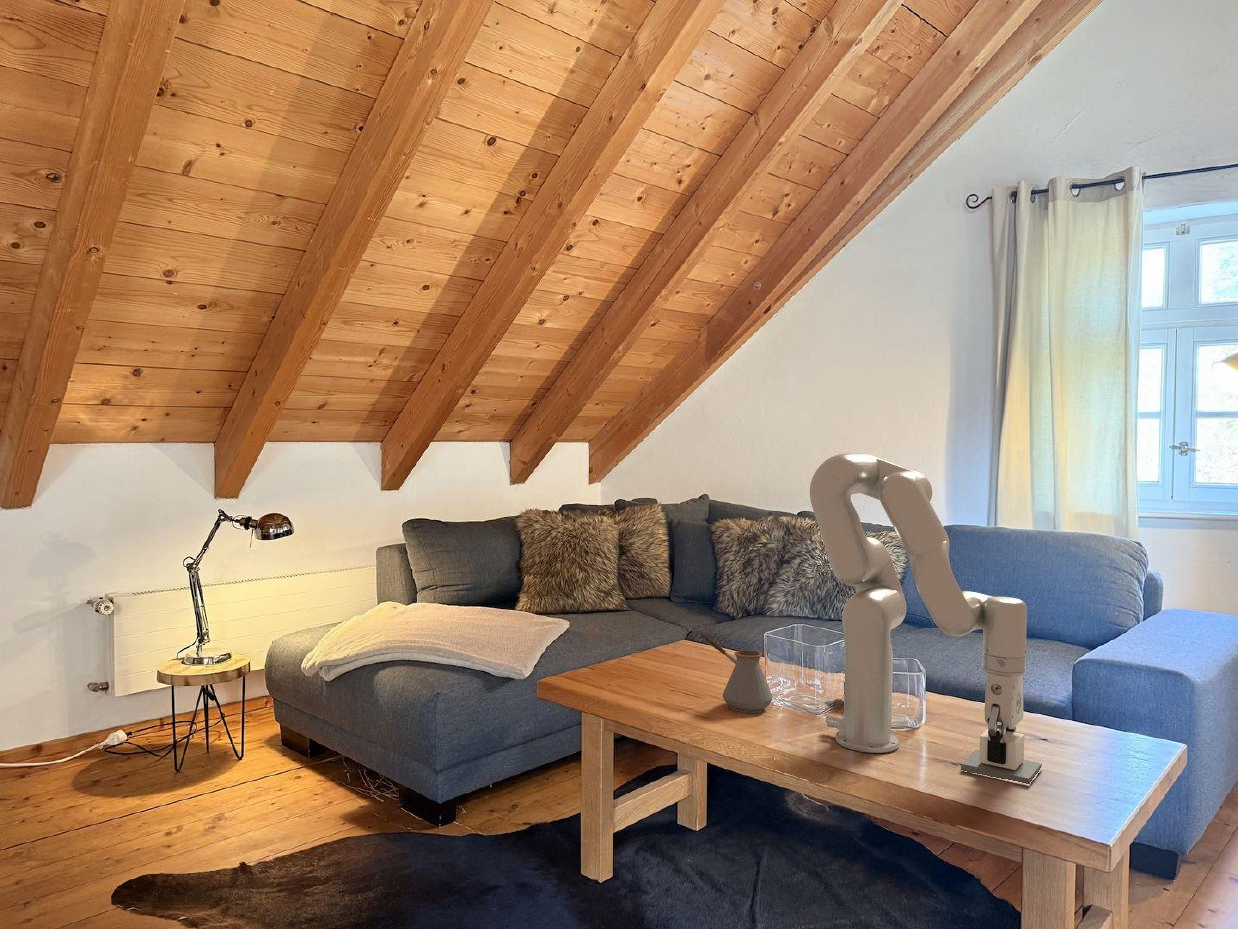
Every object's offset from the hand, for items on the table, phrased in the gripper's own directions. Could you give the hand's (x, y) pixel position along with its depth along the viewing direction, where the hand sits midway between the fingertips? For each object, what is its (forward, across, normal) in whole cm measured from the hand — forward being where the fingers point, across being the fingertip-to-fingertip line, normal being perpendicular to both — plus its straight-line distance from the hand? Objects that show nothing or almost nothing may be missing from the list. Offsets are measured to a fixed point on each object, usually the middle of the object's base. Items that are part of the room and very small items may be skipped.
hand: (1001, 756), depth 170 cm
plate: (+3, 0, 0) cm, 3 cm away
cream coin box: (+1, 0, 0) cm, 1 cm away
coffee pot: (+3, +6, +62) cm, 62 cm away
